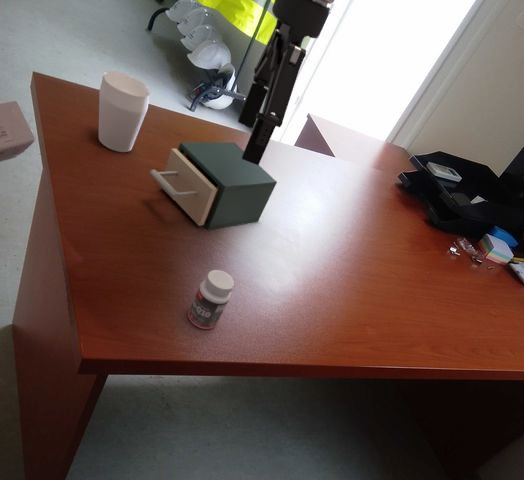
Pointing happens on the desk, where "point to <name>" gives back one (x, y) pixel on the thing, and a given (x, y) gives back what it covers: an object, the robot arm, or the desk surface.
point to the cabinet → (231, 182)
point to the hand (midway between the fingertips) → (247, 142)
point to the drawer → (188, 186)
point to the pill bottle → (211, 299)
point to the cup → (121, 110)
